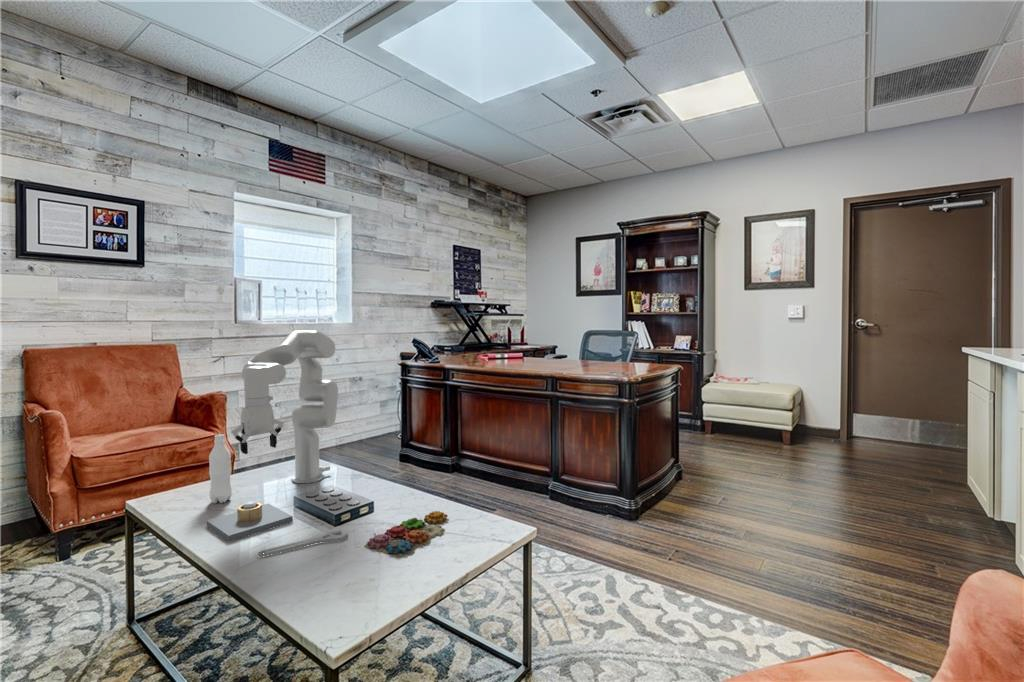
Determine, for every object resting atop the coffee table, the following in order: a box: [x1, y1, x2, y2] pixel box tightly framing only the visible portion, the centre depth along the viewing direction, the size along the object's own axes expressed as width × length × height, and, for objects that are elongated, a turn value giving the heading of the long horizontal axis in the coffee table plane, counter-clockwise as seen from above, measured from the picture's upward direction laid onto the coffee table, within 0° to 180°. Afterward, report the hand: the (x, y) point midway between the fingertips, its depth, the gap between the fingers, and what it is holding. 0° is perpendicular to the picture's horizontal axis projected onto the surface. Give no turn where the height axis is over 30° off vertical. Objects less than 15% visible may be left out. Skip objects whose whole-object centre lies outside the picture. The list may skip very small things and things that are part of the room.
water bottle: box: [208, 433, 233, 504], centre depth 188 cm, size 7×7×25 cm
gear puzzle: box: [364, 510, 448, 559], centre depth 161 cm, size 31×16×4 cm, turn 151°
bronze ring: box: [236, 502, 263, 522], centre depth 167 cm, size 7×7×4 cm
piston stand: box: [206, 500, 294, 543], centre depth 167 cm, size 20×18×7 cm
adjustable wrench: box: [257, 529, 349, 558], centre depth 153 cm, size 25×6×2 cm, turn 120°
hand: (259, 450), depth 176 cm, fingers open, 9 cm apart
